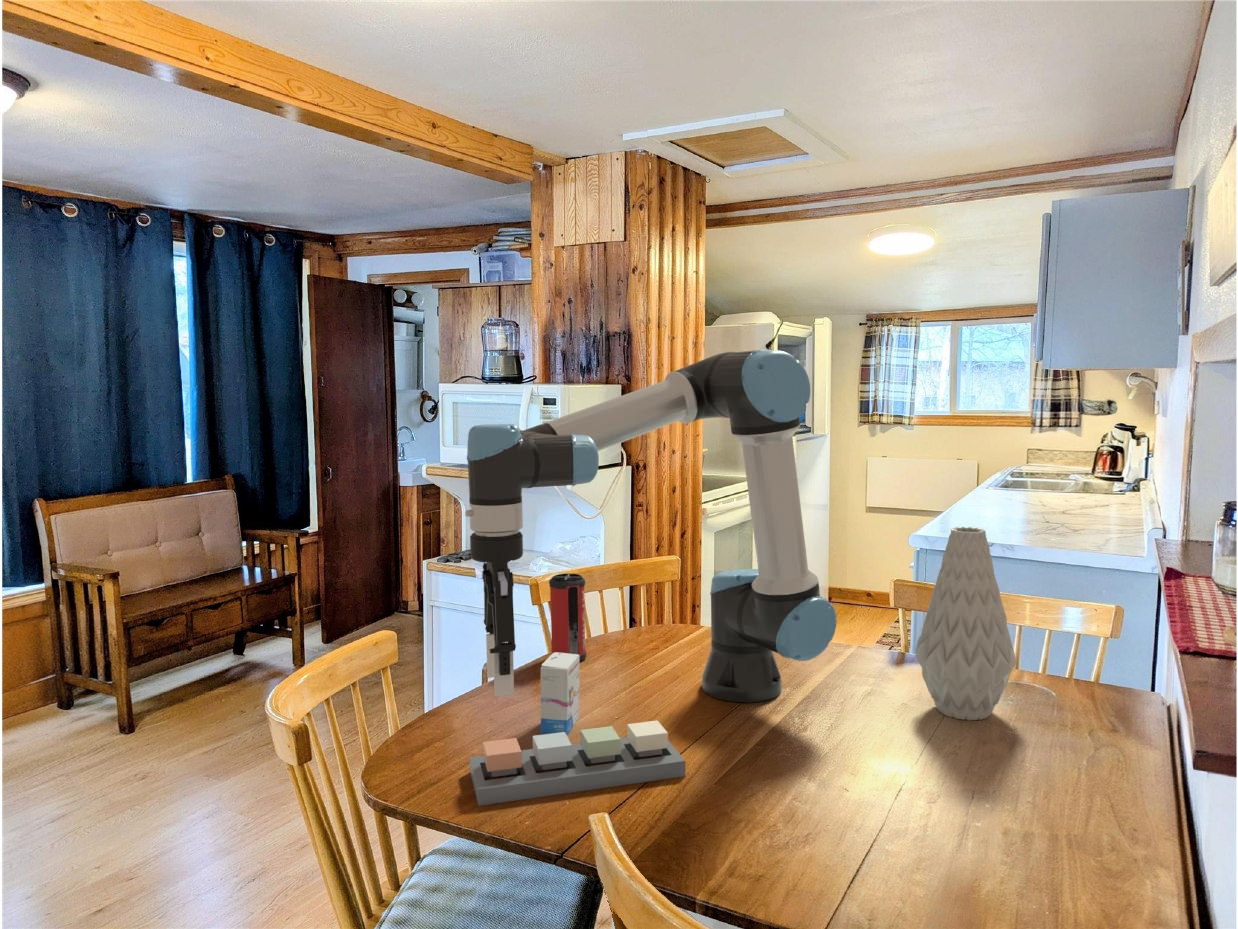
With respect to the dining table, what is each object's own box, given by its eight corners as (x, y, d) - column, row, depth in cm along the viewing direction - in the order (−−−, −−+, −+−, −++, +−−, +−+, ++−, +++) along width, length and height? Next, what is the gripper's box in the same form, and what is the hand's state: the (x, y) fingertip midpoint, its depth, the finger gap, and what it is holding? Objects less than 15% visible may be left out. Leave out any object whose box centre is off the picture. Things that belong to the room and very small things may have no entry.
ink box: (568, 736, 145) (567, 668, 144) (539, 734, 146) (538, 666, 145) (580, 717, 153) (579, 652, 152) (553, 715, 154) (552, 650, 153)
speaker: (554, 652, 190) (552, 572, 188) (588, 653, 189) (587, 572, 187) (547, 663, 182) (545, 580, 180) (583, 664, 181) (582, 580, 179)
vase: (960, 688, 165) (964, 518, 162) (1035, 718, 150) (1042, 532, 147) (893, 703, 158) (896, 526, 154) (964, 736, 143) (970, 541, 140)
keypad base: (662, 746, 140) (662, 732, 140) (685, 776, 130) (685, 760, 129) (470, 772, 132) (469, 757, 132) (478, 805, 121) (477, 789, 121)
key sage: (612, 748, 135) (611, 726, 134) (620, 761, 130) (620, 738, 130) (580, 752, 133) (580, 729, 133) (588, 766, 129) (588, 742, 128)
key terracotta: (516, 760, 131) (516, 737, 130) (522, 775, 126) (521, 751, 125) (483, 765, 129) (483, 742, 129) (487, 779, 124) (487, 755, 124)
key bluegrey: (565, 754, 133) (564, 731, 132) (572, 768, 128) (571, 745, 127) (533, 758, 131) (532, 735, 131) (538, 772, 126) (538, 749, 126)
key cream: (657, 742, 137) (657, 720, 136) (667, 755, 132) (667, 732, 132) (627, 746, 135) (627, 724, 135) (636, 759, 131) (636, 736, 130)
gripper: (463, 522, 133) (467, 665, 135) (478, 546, 113) (482, 713, 116) (511, 519, 135) (515, 661, 137) (534, 542, 115) (538, 707, 118)
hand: (500, 685), depth 126 cm, fingers open, 8 cm apart
